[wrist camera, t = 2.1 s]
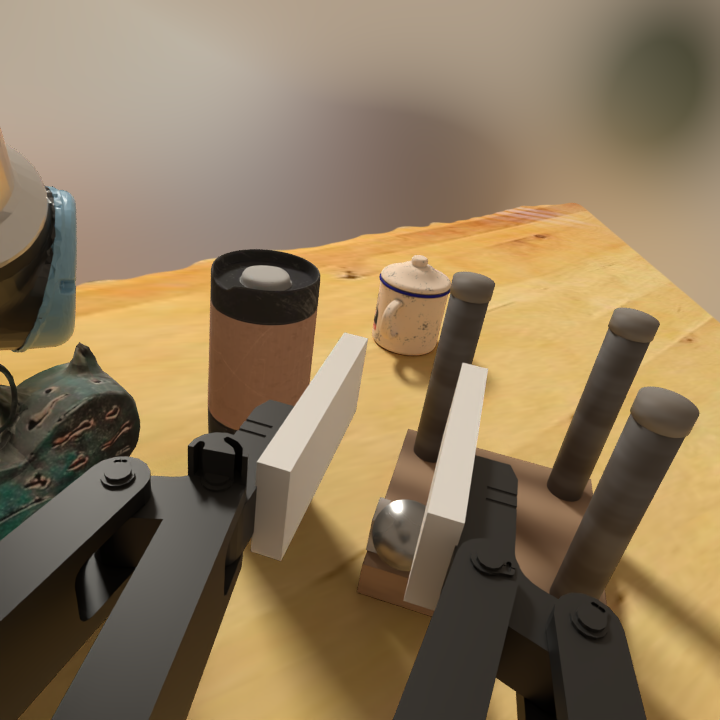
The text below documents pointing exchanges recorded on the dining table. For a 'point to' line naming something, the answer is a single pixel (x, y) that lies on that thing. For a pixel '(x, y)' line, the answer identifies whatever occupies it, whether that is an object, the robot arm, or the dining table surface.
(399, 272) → the teacup with lid
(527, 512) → the stool
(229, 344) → the travel mug
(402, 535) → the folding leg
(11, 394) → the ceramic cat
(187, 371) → the dining table surface
